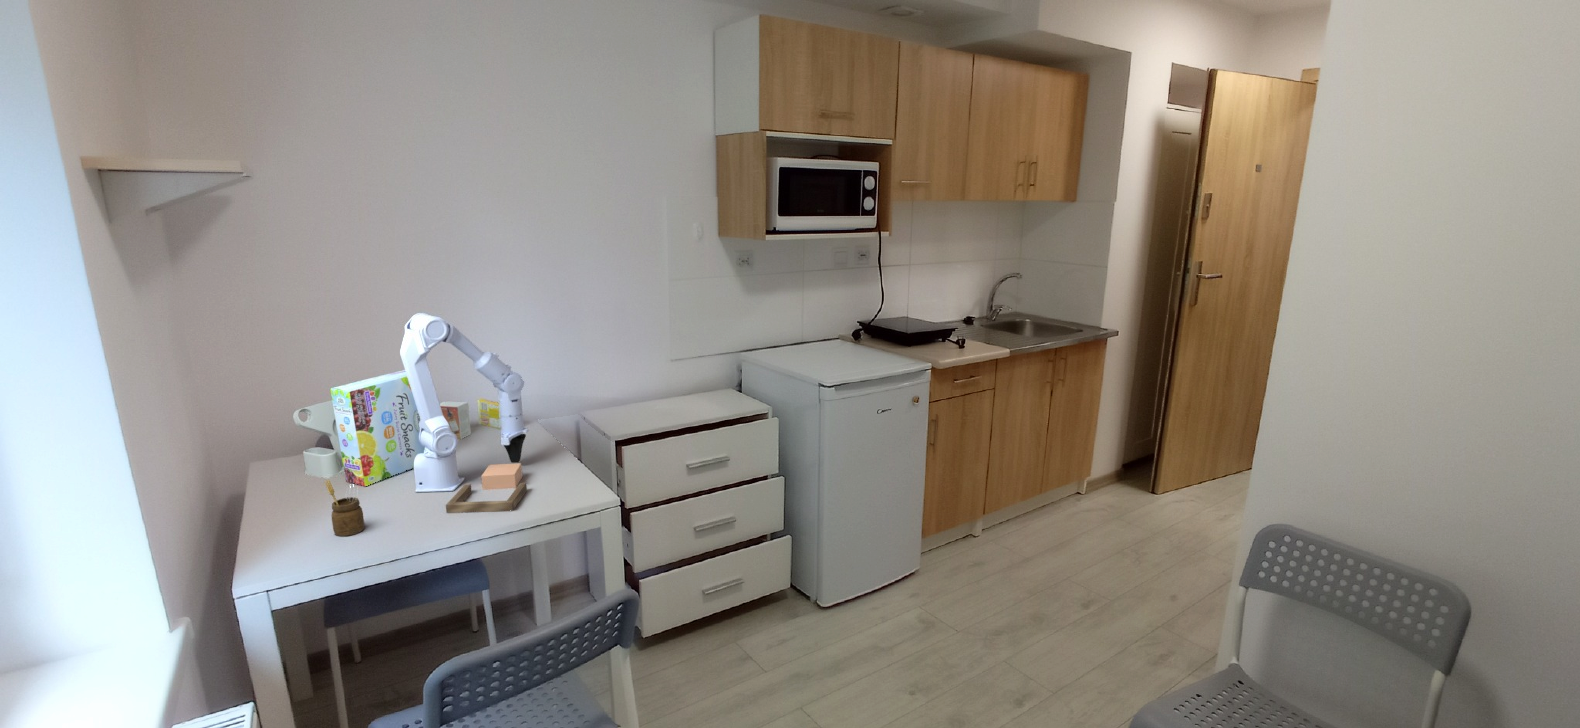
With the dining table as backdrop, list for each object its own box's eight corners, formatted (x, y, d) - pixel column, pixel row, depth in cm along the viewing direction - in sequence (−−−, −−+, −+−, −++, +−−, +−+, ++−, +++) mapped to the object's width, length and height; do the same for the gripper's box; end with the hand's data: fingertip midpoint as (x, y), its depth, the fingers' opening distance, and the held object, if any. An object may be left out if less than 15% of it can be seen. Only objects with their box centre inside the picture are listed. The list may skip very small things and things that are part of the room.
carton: (482, 491, 185) (481, 476, 184) (490, 479, 193) (489, 464, 192) (515, 489, 186) (514, 474, 185) (522, 477, 194) (521, 463, 193)
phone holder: (327, 479, 192) (317, 413, 188) (300, 474, 196) (290, 409, 192) (384, 458, 208) (376, 396, 204) (359, 453, 212) (350, 393, 208)
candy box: (516, 430, 233) (513, 405, 231) (510, 432, 231) (508, 406, 229) (484, 422, 241) (481, 397, 239) (478, 423, 239) (475, 399, 238)
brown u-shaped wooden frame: (446, 513, 172) (445, 505, 171) (465, 492, 184) (464, 484, 183) (512, 511, 173) (511, 503, 172) (526, 490, 185) (526, 482, 184)
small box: (437, 438, 224) (433, 405, 222) (448, 433, 230) (444, 400, 228) (460, 440, 223) (457, 406, 221) (471, 434, 229) (468, 401, 226)
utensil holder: (357, 536, 160) (349, 484, 157) (327, 537, 159) (318, 485, 157) (370, 524, 166) (363, 474, 163) (341, 525, 165) (333, 475, 162)
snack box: (415, 456, 209) (405, 368, 204) (437, 460, 206) (427, 371, 200) (342, 482, 190) (328, 386, 184) (364, 488, 187) (351, 390, 181)
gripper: (518, 421, 191) (523, 471, 194) (533, 406, 205) (537, 452, 208) (491, 422, 190) (495, 471, 193) (507, 406, 204) (511, 453, 207)
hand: (515, 461), depth 201 cm, fingers closed
